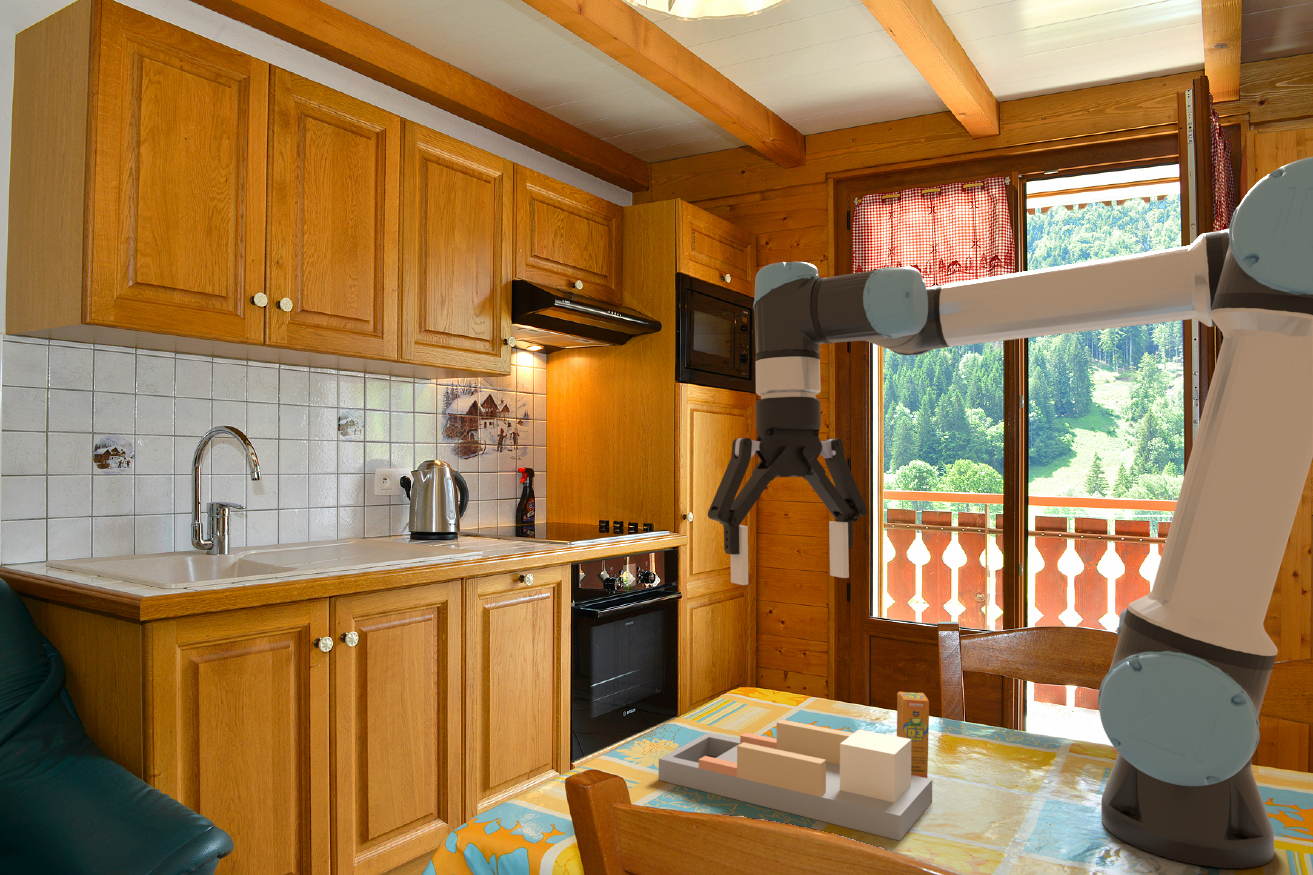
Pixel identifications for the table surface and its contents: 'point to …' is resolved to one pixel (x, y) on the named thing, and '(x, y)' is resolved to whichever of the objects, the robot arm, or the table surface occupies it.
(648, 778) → the table surface
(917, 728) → the supplement box
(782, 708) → the table surface
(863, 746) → the block
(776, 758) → the tray
